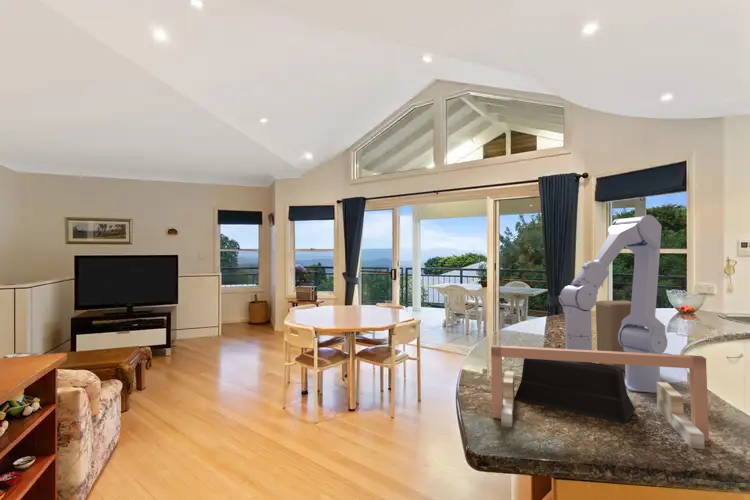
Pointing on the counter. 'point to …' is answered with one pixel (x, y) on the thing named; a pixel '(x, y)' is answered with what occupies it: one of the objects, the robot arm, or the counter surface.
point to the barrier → (576, 388)
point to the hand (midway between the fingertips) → (579, 391)
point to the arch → (629, 358)
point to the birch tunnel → (666, 404)
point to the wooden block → (611, 325)
